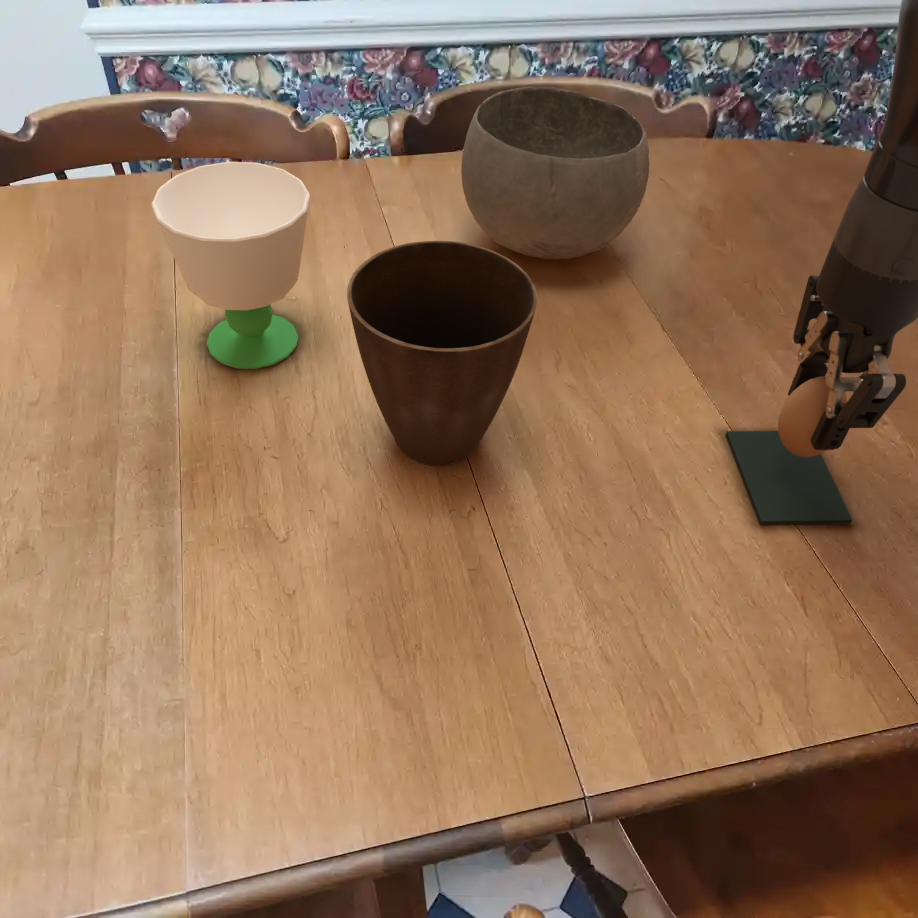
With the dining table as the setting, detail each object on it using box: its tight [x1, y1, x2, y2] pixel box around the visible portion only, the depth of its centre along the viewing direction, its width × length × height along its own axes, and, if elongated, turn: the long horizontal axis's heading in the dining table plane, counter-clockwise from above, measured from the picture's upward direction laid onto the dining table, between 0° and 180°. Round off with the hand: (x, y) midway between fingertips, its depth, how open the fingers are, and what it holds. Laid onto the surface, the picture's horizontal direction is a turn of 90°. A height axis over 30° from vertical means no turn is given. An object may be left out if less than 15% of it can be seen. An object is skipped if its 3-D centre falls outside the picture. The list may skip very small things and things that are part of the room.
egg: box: [777, 376, 848, 457], centre depth 74 cm, size 5×5×8 cm
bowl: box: [460, 85, 650, 260], centre depth 99 cm, size 20×20×15 cm
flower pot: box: [346, 240, 538, 467], centre depth 75 cm, size 15×15×16 cm
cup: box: [150, 161, 311, 370], centre depth 84 cm, size 14×14×16 cm
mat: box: [725, 430, 853, 526], centre depth 79 cm, size 11×8×1 cm
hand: (811, 421), depth 74 cm, fingers closed on egg, 5 cm apart
